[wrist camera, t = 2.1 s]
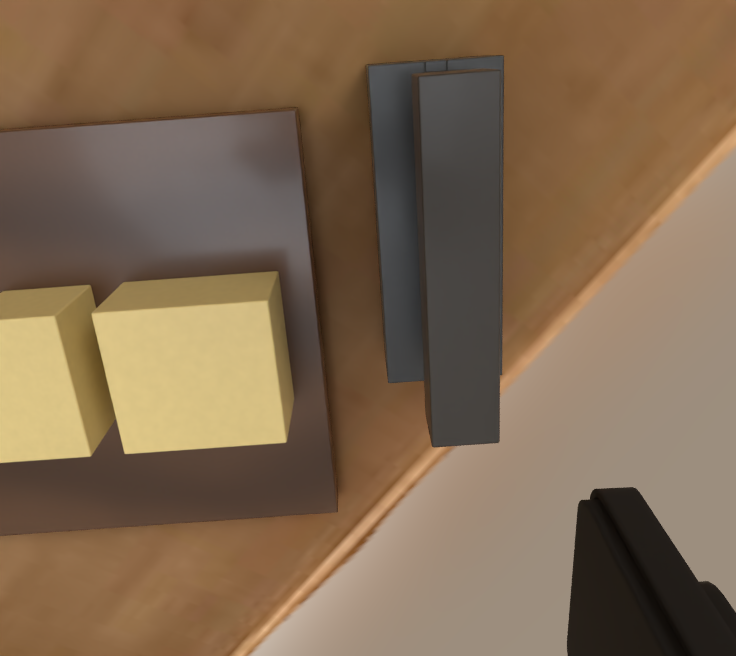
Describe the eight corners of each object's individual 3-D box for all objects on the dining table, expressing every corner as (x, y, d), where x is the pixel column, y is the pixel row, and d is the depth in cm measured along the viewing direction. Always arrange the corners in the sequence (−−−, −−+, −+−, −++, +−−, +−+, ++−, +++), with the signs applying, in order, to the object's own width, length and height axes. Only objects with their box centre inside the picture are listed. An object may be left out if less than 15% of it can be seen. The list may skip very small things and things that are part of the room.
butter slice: (2, 290, 30) (-47, 323, 26) (91, 284, 30) (54, 315, 26) (39, 417, 33) (-2, 464, 29) (121, 411, 33) (91, 457, 29)
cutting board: (-118, 138, 29) (-142, 142, 28) (298, 107, 29) (295, 109, 28) (6, 518, 37) (-7, 536, 35) (338, 495, 36) (337, 512, 35)
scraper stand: (365, 64, 28) (367, 65, 25) (484, 55, 28) (504, 55, 25) (384, 347, 33) (388, 383, 29) (485, 339, 33) (502, 375, 29)
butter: (122, 281, 30) (89, 313, 26) (278, 270, 30) (267, 300, 26) (150, 409, 33) (124, 455, 29) (294, 399, 32) (287, 443, 29)
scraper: (396, 69, 28) (417, 75, 19) (453, 65, 28) (501, 69, 19) (410, 339, 33) (432, 448, 24) (459, 336, 33) (499, 443, 24)
